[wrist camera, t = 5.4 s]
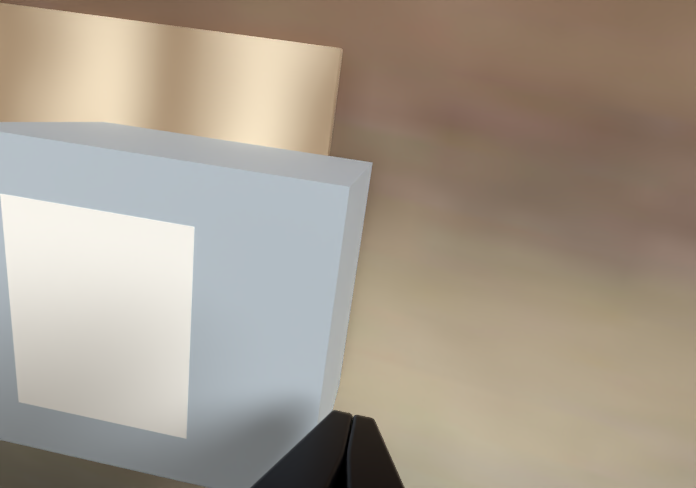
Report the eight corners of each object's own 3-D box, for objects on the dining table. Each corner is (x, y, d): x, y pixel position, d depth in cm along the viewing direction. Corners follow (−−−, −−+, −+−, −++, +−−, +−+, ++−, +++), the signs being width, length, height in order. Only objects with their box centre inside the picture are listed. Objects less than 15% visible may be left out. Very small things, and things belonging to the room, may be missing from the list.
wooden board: (342, 50, 15) (341, 48, 14) (293, 440, 19) (290, 447, 19) (-32, -1, 16) (-43, -3, 16) (3, 377, 21) (-5, 382, 20)
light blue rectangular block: (349, 186, 10) (-63, 122, 11) (305, 510, 12) (-24, 434, 13) (372, 162, 15) (104, 122, 16) (339, 385, 18) (108, 339, 19)
